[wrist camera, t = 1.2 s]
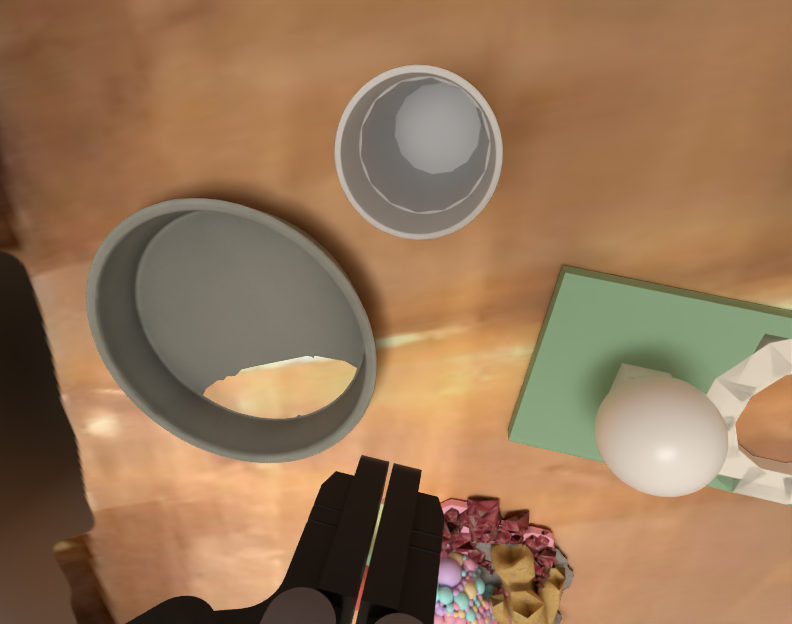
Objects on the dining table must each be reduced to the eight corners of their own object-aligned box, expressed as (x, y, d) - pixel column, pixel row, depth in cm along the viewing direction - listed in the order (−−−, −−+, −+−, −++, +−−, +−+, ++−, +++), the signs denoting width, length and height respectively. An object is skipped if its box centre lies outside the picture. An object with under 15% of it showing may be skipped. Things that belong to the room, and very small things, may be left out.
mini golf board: (507, 429, 45) (515, 593, 31) (562, 265, 37) (604, 386, 23) (861, 509, 42) (1036, 725, 29) (996, 351, 35) (1322, 543, 21)
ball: (672, 334, 35) (719, 405, 28) (719, 415, 37) (773, 499, 30) (566, 382, 38) (583, 456, 31) (615, 454, 40) (641, 538, 33)
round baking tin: (87, 339, 48) (52, 365, 45) (178, 117, 37) (140, 125, 33) (301, 472, 52) (286, 506, 48) (444, 305, 40) (439, 332, 37)
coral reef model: (558, 483, 47) (572, 572, 39) (584, 638, 56) (600, 736, 48) (314, 499, 53) (283, 578, 45) (374, 635, 63) (357, 721, 55)
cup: (501, 58, 32) (507, 59, 21) (496, 185, 35) (499, 240, 25) (378, 64, 33) (325, 69, 23) (385, 186, 37) (342, 239, 26)
